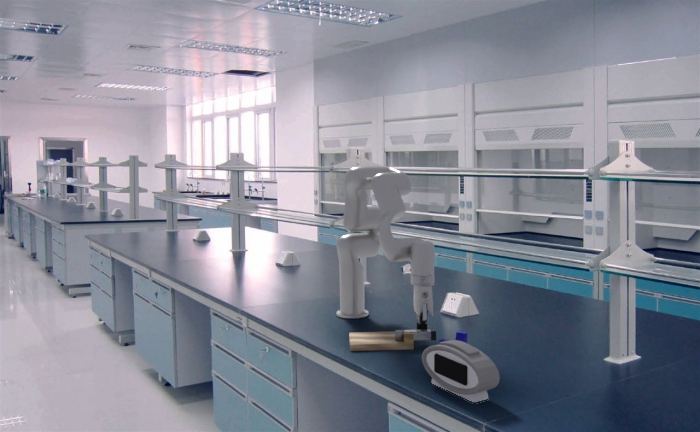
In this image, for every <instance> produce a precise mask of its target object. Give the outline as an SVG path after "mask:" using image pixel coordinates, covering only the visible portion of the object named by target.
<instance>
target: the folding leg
mask: <svg viewBox="0 0 700 432" xmlns="http://www.w3.org/2000/svg"><path fill="white" fill-rule="evenodd" d="M394 332H395V340H396V341H404V333H413V334H414V341H437V330H436V328H430V329H428V328H427V330H417V329H395V330H394Z"/></svg>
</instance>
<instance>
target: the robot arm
mask: <svg viewBox="0 0 700 432" xmlns="http://www.w3.org/2000/svg"><path fill="white" fill-rule="evenodd" d="M343 179H344V181H343V185H344V190H345V200H344V210H343V219H342V221H343V222H342V224H343V228H344V229H345V230H346V231H347V232H350V233H348V234H344V235H341V236H339V238H338V239H337V241H336V252H337V259H338V266H339V269H338V270H339V273H338V274H339V309H338V310H337V311H336V312H335V314H336V316H337V317H338V318H342V319H351V320H352V319H363V318H366V317H367V316H369V315H370V314H369V310H367V309H365V306H366V305H365V302H366V301H365V269H364V267H363V264H362V263H361V262H360V260H359V259H363V258H371V257H372V258H373V257H376V256H377V255H378V254H379V253H380V251H381V250H382V253H383V254H384V255H383V256H385V258H386V259H387V260H388V261H390V262H392V263H398V262H399V263H401V262H407V261H408V262H409V261H410V285H412V286H413V310H414V312H415V313H416V330H427V329H428V315H429V316H430V317H433V316H434V299H433V297H434V295H433V288H432V287H433V286H434V285H435V243H434V242H432V241H430V240H429V241H428V240H423V239H422V238H419V237H402V238H394V235H393V233H392V231H391V224H392V223H394V222H395V221H397V220H399V219H401V218H402V217H403V216H404V215H405V214H406V213H407V212H406V211H407V208H406V205H405V202H404V200H403V198H402V197H403V196H407V195H408V194H410V192H411V190H412V181H411V179H410V177H409V175H408V174H406V172H403V171H401V170H398V169H396V168H393V167H392V166H391V167H390V166H386V165H384V166H383V165H380V166H379V165H378V166H377V165H376V166H364V165H363V166H354V167H351V168H349V169H348V170H346V173H345V175H344V178H343ZM366 190H368V191H369V190H372V194H373V195H374V198H375V200H376V202H377V206H376V205H375V206H374V205H368V202H369V197H368V193H367V191H366ZM361 232H362V233H361Z"/></svg>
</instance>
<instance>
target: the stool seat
mask: <svg viewBox="0 0 700 432" xmlns="http://www.w3.org/2000/svg"><path fill="white" fill-rule="evenodd" d="M348 333H349V334H348V340H349V351H350V352H359V351H361V352H363V351H399V350H414V348H415V347H414V346H415V344H414V341H415V340H414V334H413V333H404V341H396V340H395V331H364V332H363V331H358V332H356V331H355V332H348Z"/></svg>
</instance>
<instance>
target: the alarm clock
mask: <svg viewBox="0 0 700 432" xmlns="http://www.w3.org/2000/svg"><path fill="white" fill-rule="evenodd" d="M448 340H449V341H444V342H440V343H439V342H438V344H434V345H429V346H428V347H426V348H425V349H424V350H423V352H422V355H421V361H422V362H421V363H422V365H423V367H424V369H425V371H426V372H427V374H428V376H430V377H431V383H432V385H433V384H434V385H433V386H435V385H436V387H437V386H438V388H439V387H441V388H440V389H442V388H443V389H442V390H444V389H445V390H444V391H446V390H448V391H450V392H452V393H454V394H456V395H458V396H461V397H463V398H465V399H467V400H469V401H472V402H478V401H482V400H486V399H488V400H489V394H488V393H489V392H488V391H490V390H493V389H494V388H496V387H498V385H499V383H500V379H501V376H500V371H499V370H498V367H497V365H496V364H495V363H494V361H492V359H491V358H490V357H489V355H487V354H485V352H483V351H481V350H480V349H478V348H476V347H475V346H473V345H471V344H469V343H468V342H467V343H465V342H462V341H458V340H455V339H448ZM448 391H447V392H448ZM450 392H449V393H450ZM452 393H451V394H452ZM454 394H453V395H454ZM456 395H455V396H456ZM458 396H457V397H458ZM465 399H464V400H465ZM467 400H466V401H467ZM469 401H468V402H469Z"/></svg>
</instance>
